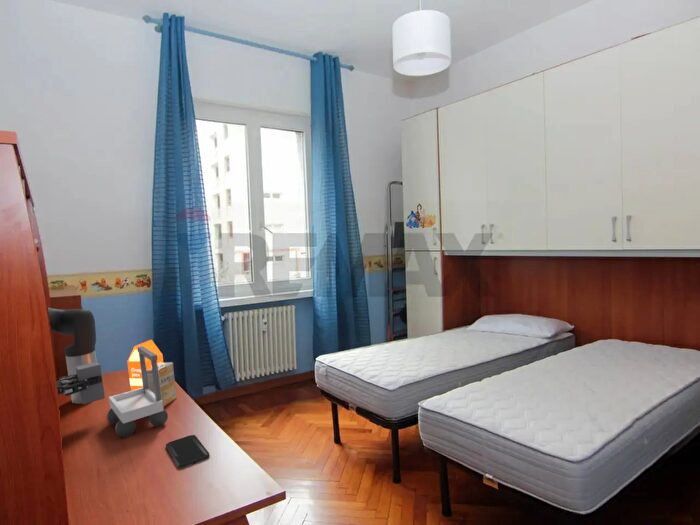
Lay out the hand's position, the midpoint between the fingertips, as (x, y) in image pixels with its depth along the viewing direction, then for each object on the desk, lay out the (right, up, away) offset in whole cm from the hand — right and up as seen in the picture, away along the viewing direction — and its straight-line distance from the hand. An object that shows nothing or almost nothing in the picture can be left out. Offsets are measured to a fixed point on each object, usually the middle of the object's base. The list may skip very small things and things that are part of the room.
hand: (99, 376), depth 138 cm
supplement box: (+16, -12, +11) cm, 23 cm away
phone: (+37, -14, -24) cm, 46 cm away
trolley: (+15, -13, -5) cm, 20 cm away
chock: (-2, -7, -1) cm, 7 cm away
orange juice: (+8, -12, +17) cm, 22 cm away
